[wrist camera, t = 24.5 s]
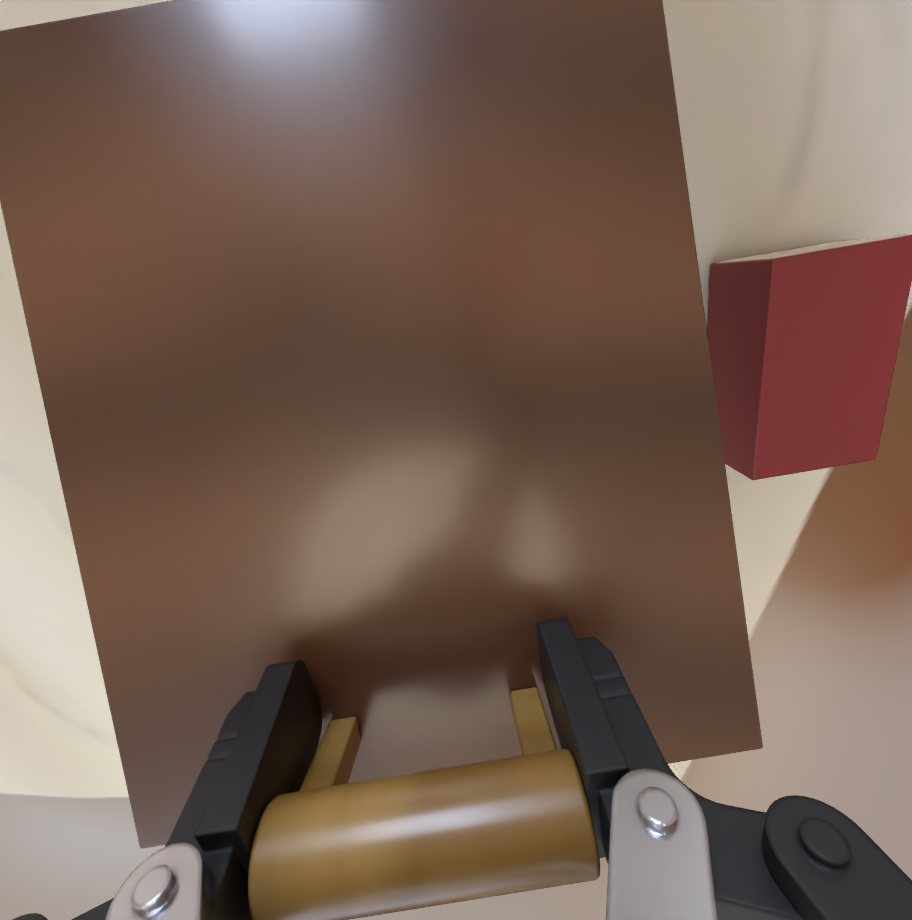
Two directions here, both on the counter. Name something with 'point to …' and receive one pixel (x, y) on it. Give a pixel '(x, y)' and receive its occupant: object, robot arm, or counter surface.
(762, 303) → the book
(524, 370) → the chest lid
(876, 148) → the counter surface
